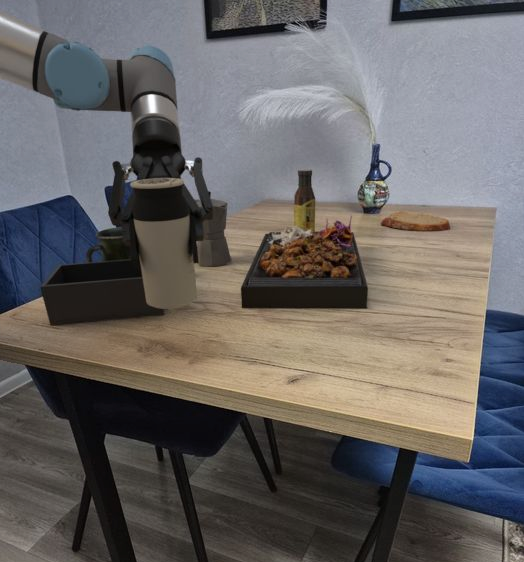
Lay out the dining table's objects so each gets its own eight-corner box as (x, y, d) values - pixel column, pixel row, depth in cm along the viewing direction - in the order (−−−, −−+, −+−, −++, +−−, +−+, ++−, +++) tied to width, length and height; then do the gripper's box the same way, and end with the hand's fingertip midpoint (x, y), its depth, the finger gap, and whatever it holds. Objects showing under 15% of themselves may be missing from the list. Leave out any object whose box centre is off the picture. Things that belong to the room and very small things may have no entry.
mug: (162, 281, 112) (154, 230, 107) (104, 297, 103) (93, 242, 98) (139, 271, 119) (132, 224, 114) (84, 286, 111) (73, 235, 105)
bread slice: (454, 229, 147) (456, 217, 145) (402, 234, 143) (403, 222, 141) (424, 218, 162) (425, 207, 161) (376, 223, 159) (376, 211, 157)
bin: (50, 325, 90) (40, 286, 87) (66, 299, 103) (58, 264, 100) (164, 314, 93) (158, 276, 89) (166, 290, 106) (161, 256, 102)
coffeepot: (243, 262, 123) (239, 190, 115) (216, 270, 118) (209, 196, 109) (206, 252, 133) (200, 186, 125) (179, 260, 127) (171, 191, 119)
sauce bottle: (308, 243, 138) (309, 171, 129) (290, 241, 141) (289, 171, 132) (318, 238, 143) (319, 168, 134) (300, 236, 146) (300, 168, 137)
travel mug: (138, 309, 72) (118, 185, 63) (157, 291, 79) (141, 177, 70) (189, 311, 70) (175, 184, 62) (203, 292, 77) (192, 177, 69)
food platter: (265, 249, 134) (264, 212, 130) (353, 248, 131) (354, 210, 127) (242, 307, 94) (238, 257, 90) (366, 308, 92) (370, 256, 87)
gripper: (221, 149, 80) (236, 268, 73) (95, 154, 77) (98, 278, 70) (221, 114, 73) (237, 242, 66) (82, 119, 70) (84, 252, 63)
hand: (165, 260), depth 68 cm, fingers closed on travel mug, 8 cm apart
